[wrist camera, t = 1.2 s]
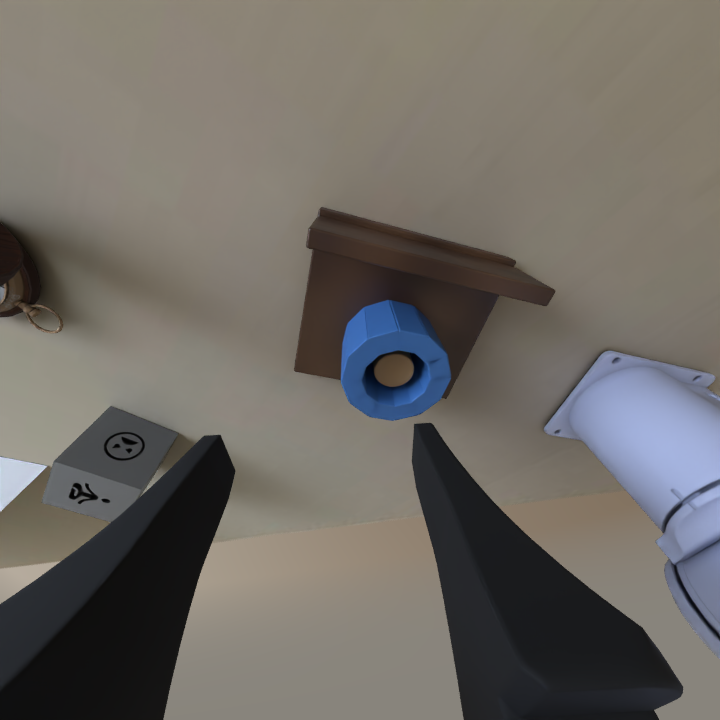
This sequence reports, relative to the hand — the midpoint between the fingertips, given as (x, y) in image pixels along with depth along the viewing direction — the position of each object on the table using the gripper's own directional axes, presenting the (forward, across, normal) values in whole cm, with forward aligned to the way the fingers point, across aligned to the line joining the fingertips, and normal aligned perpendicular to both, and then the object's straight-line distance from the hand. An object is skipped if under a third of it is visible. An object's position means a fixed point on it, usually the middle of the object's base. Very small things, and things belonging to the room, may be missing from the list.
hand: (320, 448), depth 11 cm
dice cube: (+10, +17, +8) cm, 21 cm away
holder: (+10, -4, -1) cm, 10 cm away
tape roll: (+9, -4, 0) cm, 9 cm away
